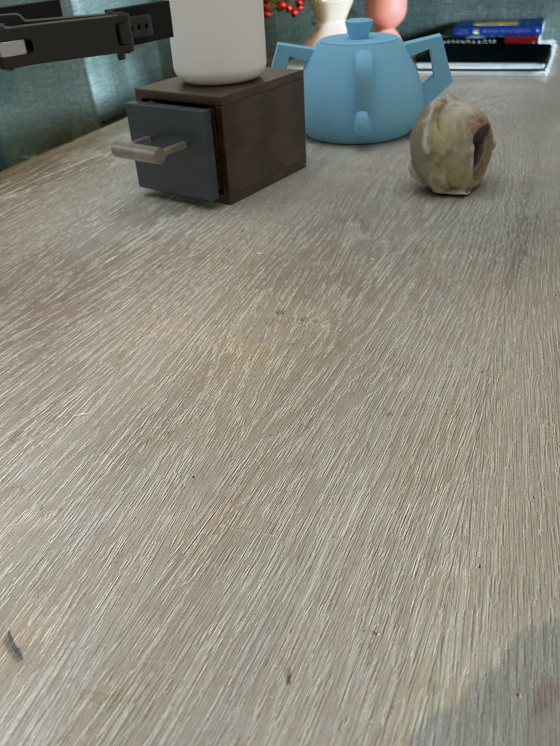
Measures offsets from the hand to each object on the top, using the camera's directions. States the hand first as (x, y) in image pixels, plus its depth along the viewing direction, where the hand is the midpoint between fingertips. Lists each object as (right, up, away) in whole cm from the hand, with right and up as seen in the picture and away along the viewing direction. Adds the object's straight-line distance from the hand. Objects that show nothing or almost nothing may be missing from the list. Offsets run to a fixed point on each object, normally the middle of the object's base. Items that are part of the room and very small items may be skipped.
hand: (111, 17), depth 59 cm
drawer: (+6, -10, +16) cm, 20 cm away
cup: (+9, 0, +14) cm, 16 cm away
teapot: (+26, +3, +35) cm, 43 cm away
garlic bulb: (+33, -12, +13) cm, 38 cm away
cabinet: (+9, -8, +20) cm, 23 cm away
